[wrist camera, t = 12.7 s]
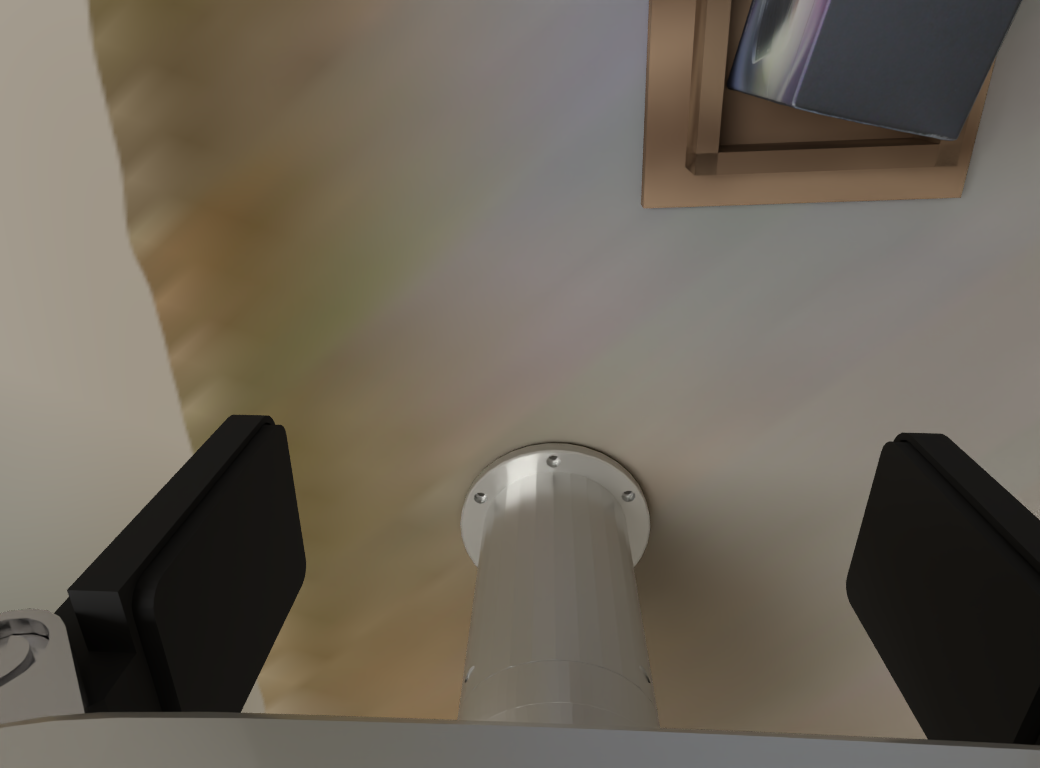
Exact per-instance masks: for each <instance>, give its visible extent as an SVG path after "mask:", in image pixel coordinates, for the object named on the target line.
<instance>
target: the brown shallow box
mask: <svg viewBox="0 0 1040 768" xmlns="http://www.w3.org/2000/svg"><path fill="white" fill-rule="evenodd" d="M751 2H752V0H649V17H648V43H647V68H646V94H645V119H644V144H643V170H642V195H641V205H642V207H643V208H668V207H697V206H727V205H756V204H786V203H815V202H844V201H874V200H903V199H933V198H961V195H962V191H963V187H964V183H965V179H966V175H967V171H968V167H969V163H970V159H971V155H972V151H973V147H974V143H975V139H976V135H977V131H978V127H979V123H980V119H981V115H982V111H983V107H984V103H985V99H986V95H987V91H988V87H989V83H990V79H991V75H992V71H993V67H994V63H995V60H994V62H993V64H992V66H991V68H990V70H989V72H988V75H987V77H986V79H985V81H984V83H983V85H982V88H981V90H980V92H979V94H978V96H977V98H976V100H975V103H974V105H973V107H972V109H971V111H970V113H969V115H968V117H967V119H966V121H965V123H964V125H963V128H962V130H961V132H960V134H959V137H958V138H957V140H953V141H947V140H940V139H936V138H932V137H926V136H921V135H915V134H911V133H906V132H900V131H896V130H892V129H886V128H881V127H877V126H872V125H866V124H861V123H856V122H852V121H847V120H842V119H838V118H834V117H828V116H823V115H820V114H815V113H811V112H807V111H803V110H799V109H795V108H792V107H789V106H785V105H781V104H777V103H774V102H771V101H768V100H765V99H761V98H758V97H755V96H751V95H748V94H745V93H742V92H738V91H733V90H730V89H728V88H727V81H728V78H729V75H730V71H731V68H732V65H733V61H734V58H735V55H736V51H737V48H738V45H739V41H740V38H741V35H742V32H743V29H744V25H745V22H746V19H747V16H748V12H749V9H750V6H751ZM996 56H997V55H996ZM995 59H996V58H995Z"/></svg>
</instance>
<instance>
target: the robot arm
mask: <svg viewBox="0 0 1040 768" xmlns="http://www.w3.org/2000/svg"><path fill="white" fill-rule="evenodd" d="M460 525H461V535H462V540H463V543H464V546H465V548H466V551H467V553H468V555H469V556H470V558H471V560H472V561H473V563H474V564H475V565H476V566H477V568H478V570H477V578H476V585H475V593H474V600H473V608H472V615H471V623H470V630H469V638H468V645H467V653H466V660H465V668H464V675H463V683H462V690H461V698H460V705H459V713H458V720H445V719H416V718H387V717H358V716H329V715H300V714H267V713H241V711H242V709H243V706H244V704H245V702H246V700H247V698H248V696H249V694H250V692H251V690H252V688H253V686H254V684H255V682H256V679H257V677H258V675H259V673H260V671H261V669H262V667H263V665H264V663H265V661H266V659H267V657H268V655H269V653H270V650H271V648H272V646H273V644H274V642H275V640H276V638H277V636H278V634H279V632H280V630H281V628H282V626H283V624H284V621H285V619H286V617H287V615H288V613H289V611H290V609H291V607H292V605H293V603H294V601H295V599H296V597H297V594H298V592H299V590H300V588H301V586H302V584H303V581H304V577H305V572H306V558H305V552H304V545H303V539H302V532H301V526H300V519H299V513H298V507H297V500H296V494H295V487H294V481H293V474H292V468H291V462H290V455H289V449H288V442H287V436H286V431H285V429H284V427H283V426H282V425H275V423H274V421H273V419H272V418H271V417H270V416H261V415H231V416H230V417H228V418H227V419H226V421H225V422H224V423H223V424H222V425H221V426H220V427H219V428H218V429H217V430H216V431H215V432H214V433H213V434H212V435H211V437H210V438H209V439H208V440H207V441H206V442H205V443H204V444H203V445H202V446H201V447H200V448H199V449H198V450H197V452H196V453H195V454H194V455H193V456H192V457H191V458H190V459H189V460H188V461H187V462H186V463H185V465H183V467H182V468H181V469H180V470H179V471H178V472H177V473H176V474H175V475H174V476H173V477H172V478H171V479H170V481H169V482H168V483H167V484H166V485H165V486H164V487H163V488H162V489H161V490H160V491H159V492H158V493H157V495H155V497H154V498H153V499H152V500H151V501H150V502H149V503H148V504H147V505H146V506H145V507H144V508H143V509H142V510H141V512H140V513H139V514H138V515H137V516H136V517H135V518H134V519H133V520H132V521H131V522H130V523H129V524H128V525H127V526H126V528H125V529H124V530H123V531H122V532H121V533H120V534H119V535H118V536H117V537H116V538H115V539H114V541H112V542H111V544H110V545H109V546H108V547H107V548H106V549H105V550H104V551H103V552H102V553H101V554H100V555H99V556H98V558H97V559H96V560H95V561H94V562H93V563H92V564H91V565H90V566H89V567H88V568H87V569H86V570H85V572H83V574H82V575H81V576H80V577H79V578H78V579H77V580H76V581H75V582H74V583H73V584H72V585H71V586H70V587H69V589H68V590H67V591H68V594H69V597H68V598H67V600H66V601H65V602H64V603H63V604H62V605H61V606H60V607H59V608H58V609H57V611H56V612H55V613H52V612H50V611H48V610H39V609H30V608H29V609H21V610H12V611H7V612H3V613H0V768H1040V520H1039V519H1038V518H1037V517H1036V516H1035V515H1033V514H1032V513H1031V512H1030V511H1029V510H1028V509H1027V508H1026V507H1025V506H1023V505H1022V504H1021V503H1020V502H1019V501H1018V500H1017V499H1016V498H1015V497H1014V496H1012V495H1011V494H1010V493H1009V492H1008V491H1007V490H1006V489H1005V488H1004V487H1002V486H1001V485H1000V484H999V483H998V482H997V481H996V480H995V479H994V478H992V477H991V476H990V475H989V474H988V473H987V472H986V471H985V470H984V469H983V468H981V467H980V466H979V465H978V464H977V463H976V462H975V461H974V460H973V459H971V458H970V457H969V456H968V455H967V454H966V453H965V452H964V451H963V450H961V449H960V448H959V447H958V446H957V445H956V444H955V443H954V442H953V441H952V440H950V439H949V438H948V437H947V436H945V435H943V434H931V433H901V434H899V435H898V436H897V437H896V438H895V439H894V442H887V443H886V444H885V445H884V446H883V449H882V451H881V455H880V458H879V462H878V466H877V469H876V473H875V477H874V480H873V484H872V488H871V491H870V495H869V499H868V502H867V506H866V510H865V513H864V517H863V521H862V524H861V528H860V532H859V535H858V539H857V542H856V546H855V550H854V553H853V557H852V561H851V564H850V568H849V572H848V575H847V580H846V590H847V596H848V599H849V602H850V604H851V606H852V608H853V609H854V611H855V613H856V615H857V616H858V618H859V620H860V621H861V623H862V625H863V627H864V628H865V630H866V632H867V634H868V635H869V637H870V639H871V641H872V642H873V644H874V646H875V648H876V649H877V651H878V653H879V655H880V656H881V658H882V660H883V662H884V663H885V665H886V667H887V669H888V670H889V672H890V674H891V676H892V677H893V679H894V681H895V683H896V684H897V686H898V688H899V690H900V691H901V693H902V695H903V697H904V698H905V700H906V702H907V704H908V705H909V707H910V709H911V710H912V712H913V714H914V716H915V717H916V719H917V721H918V723H919V724H920V726H921V728H922V730H923V731H924V733H925V735H926V737H927V738H928V740H926V739H904V738H882V737H861V736H839V735H817V734H796V733H774V732H752V731H728V730H703V729H679V728H660V724H659V719H658V712H657V706H656V700H655V694H654V688H653V682H652V676H651V670H650V664H649V657H648V651H647V645H646V639H645V633H644V627H643V621H642V615H641V609H640V603H639V597H638V590H637V584H636V578H635V572H634V567H635V566H636V564H637V563H638V562H639V560H640V559H641V557H642V556H643V553H644V551H645V549H646V546H647V544H648V539H649V534H650V516H649V511H648V506H647V502H646V499H645V497H644V494H643V492H642V490H641V488H640V486H639V484H638V483H637V482H636V480H635V479H634V478H633V476H632V475H631V474H630V473H629V472H628V471H627V470H626V469H625V468H624V467H622V466H621V465H620V464H619V463H618V462H616V461H615V460H613V459H611V458H609V457H608V456H606V455H604V454H603V453H600V452H597V451H595V450H592V449H589V448H586V447H582V446H577V445H572V444H560V443H546V444H539V445H532V446H527V447H524V448H521V449H518V450H515V451H512V452H510V453H508V454H506V455H504V456H502V457H500V458H498V459H496V460H495V461H494V462H492V463H491V464H490V465H489V466H487V467H486V468H485V469H484V470H483V471H482V472H481V473H480V474H479V475H478V477H477V478H476V479H475V480H474V481H473V483H472V485H471V487H470V488H469V490H468V492H467V494H466V497H465V501H464V505H463V508H462V515H461V523H460Z"/></svg>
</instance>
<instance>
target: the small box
mask: <svg viewBox="0 0 1040 768" xmlns="http://www.w3.org/2000/svg"><path fill="white" fill-rule="evenodd" d="M1021 2H1022V0H752V2H751V6H750V9H749V12H748V16H747V19H746V22H745V25H744V29H743V32H742V35H741V38H740V41H739V45H738V48H737V51H736V55H735V58H734V61H733V65H732V68H731V71H730V75H729V78H728V81H727V88H728V89H730V90H733V91H738V92H742V93H745V94H748V95H751V96H755V97H758V98H761V99H765V100H768V101H771V102H774V103H777V104H781V105H785V106H789V107H792V108H795V109H799V110H803V111H807V112H811V113H815V114H820V115H823V116H828V117H834V118H838V119H842V120H847V121H852V122H856V123H861V124H866V125H872V126H877V127H881V128H886V129H892V130H896V131H900V132H906V133H911V134H915V135H921V136H926V137H932V138H936V139H940V140H947V141H953V140H957V138H958V137H959V134H960V132H961V130H962V128H963V125H964V123H965V121H966V119H967V117H968V115H969V113H970V111H971V109H972V107H973V105H974V103H975V100H976V98H977V96H978V94H979V92H980V90H981V88H982V85H983V83H984V81H985V79H986V77H987V75H988V72H989V70H990V68H991V66H992V64H993V62H994V60H995V58H996V55H997V53H998V51H999V49H1000V47H1001V45H1002V43H1003V41H1004V38H1005V36H1006V34H1007V32H1008V30H1009V28H1010V26H1011V24H1012V22H1013V19H1014V17H1015V15H1016V13H1017V11H1018V9H1019V7H1020V4H1021Z"/></svg>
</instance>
